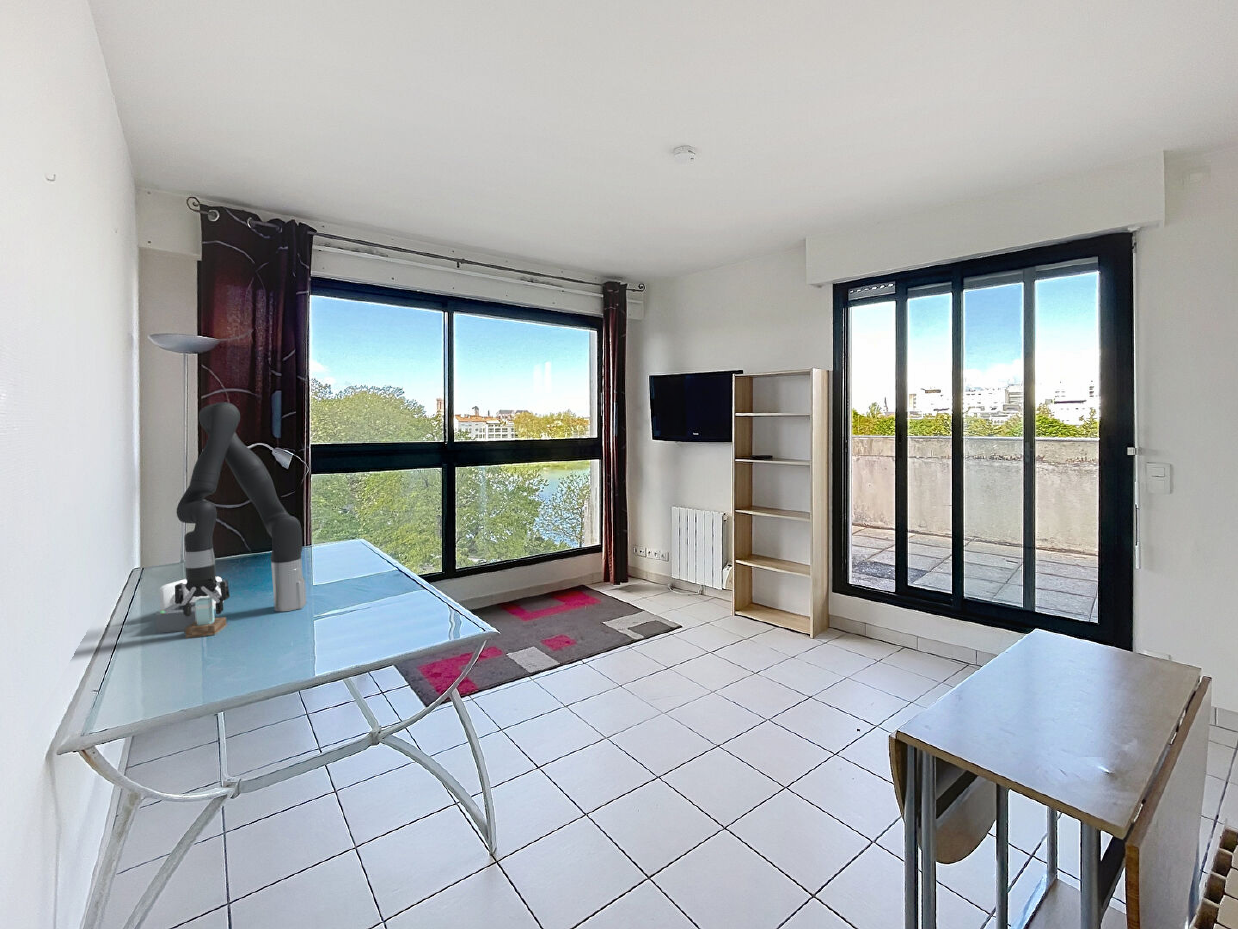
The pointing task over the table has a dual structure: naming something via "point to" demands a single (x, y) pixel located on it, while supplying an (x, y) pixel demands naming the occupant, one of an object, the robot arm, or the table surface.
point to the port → (174, 618)
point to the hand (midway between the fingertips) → (203, 614)
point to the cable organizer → (169, 594)
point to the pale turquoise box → (205, 611)
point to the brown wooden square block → (205, 628)
